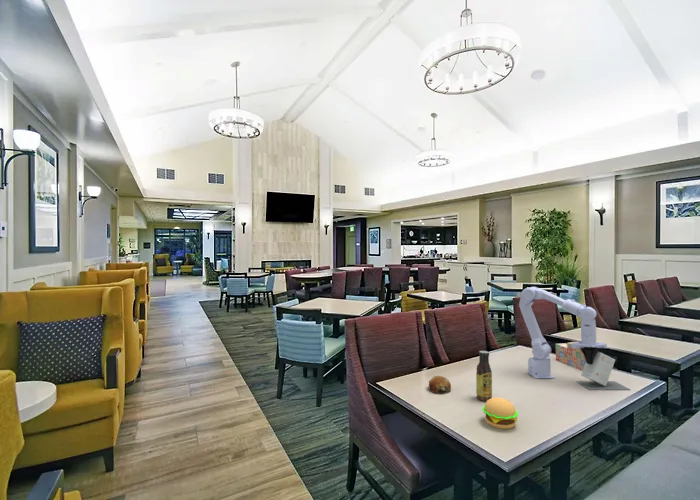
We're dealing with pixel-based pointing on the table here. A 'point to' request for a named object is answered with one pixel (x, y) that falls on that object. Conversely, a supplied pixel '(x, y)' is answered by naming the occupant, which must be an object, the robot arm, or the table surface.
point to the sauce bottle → (484, 377)
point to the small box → (599, 369)
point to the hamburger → (500, 413)
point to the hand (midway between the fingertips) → (589, 363)
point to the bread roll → (439, 385)
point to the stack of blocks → (570, 355)
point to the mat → (596, 386)
